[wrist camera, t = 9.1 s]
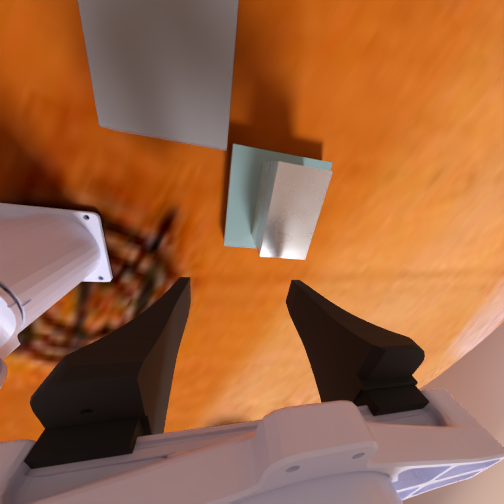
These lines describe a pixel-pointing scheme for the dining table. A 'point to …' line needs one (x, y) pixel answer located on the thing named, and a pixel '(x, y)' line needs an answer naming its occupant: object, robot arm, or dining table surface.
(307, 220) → the block
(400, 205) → the dining table surface
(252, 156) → the stand
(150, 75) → the stand
